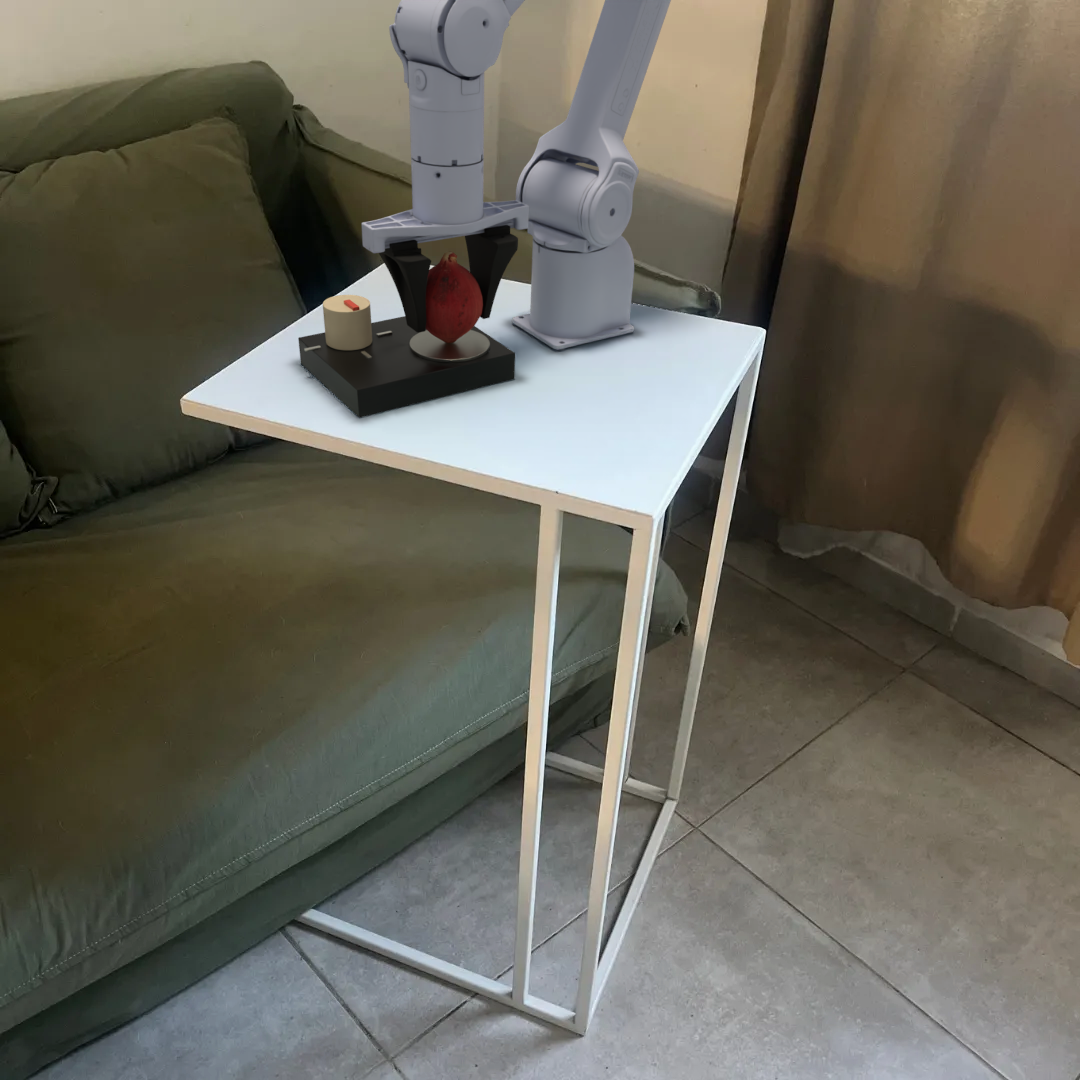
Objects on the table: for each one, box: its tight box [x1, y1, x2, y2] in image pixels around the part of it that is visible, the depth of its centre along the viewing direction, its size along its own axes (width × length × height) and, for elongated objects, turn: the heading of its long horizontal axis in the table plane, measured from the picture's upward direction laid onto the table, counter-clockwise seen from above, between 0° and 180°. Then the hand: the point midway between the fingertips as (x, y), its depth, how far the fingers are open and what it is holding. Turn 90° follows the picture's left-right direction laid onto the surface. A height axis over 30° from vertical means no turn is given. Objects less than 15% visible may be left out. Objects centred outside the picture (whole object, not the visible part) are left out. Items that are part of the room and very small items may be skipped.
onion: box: [426, 250, 483, 343], centre depth 86 cm, size 6×6×8 cm
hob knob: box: [322, 294, 372, 350], centre depth 87 cm, size 4×4×4 cm
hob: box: [297, 315, 516, 418], centre depth 89 cm, size 16×13×3 cm
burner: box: [410, 330, 490, 363], centre depth 89 cm, size 7×7×1 cm
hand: (449, 321), depth 87 cm, fingers closed on onion, 6 cm apart
